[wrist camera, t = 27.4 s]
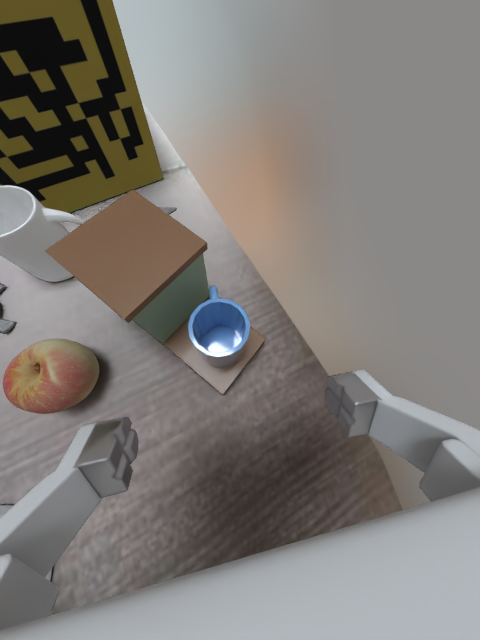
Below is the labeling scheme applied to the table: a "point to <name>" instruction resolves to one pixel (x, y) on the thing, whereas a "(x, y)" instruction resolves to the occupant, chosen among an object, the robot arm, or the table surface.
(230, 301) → the cup
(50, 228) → the mug
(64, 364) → the apple
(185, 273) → the green brown stepped block
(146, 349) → the table surface
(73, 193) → the decorative box
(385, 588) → the robot arm
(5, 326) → the toy
